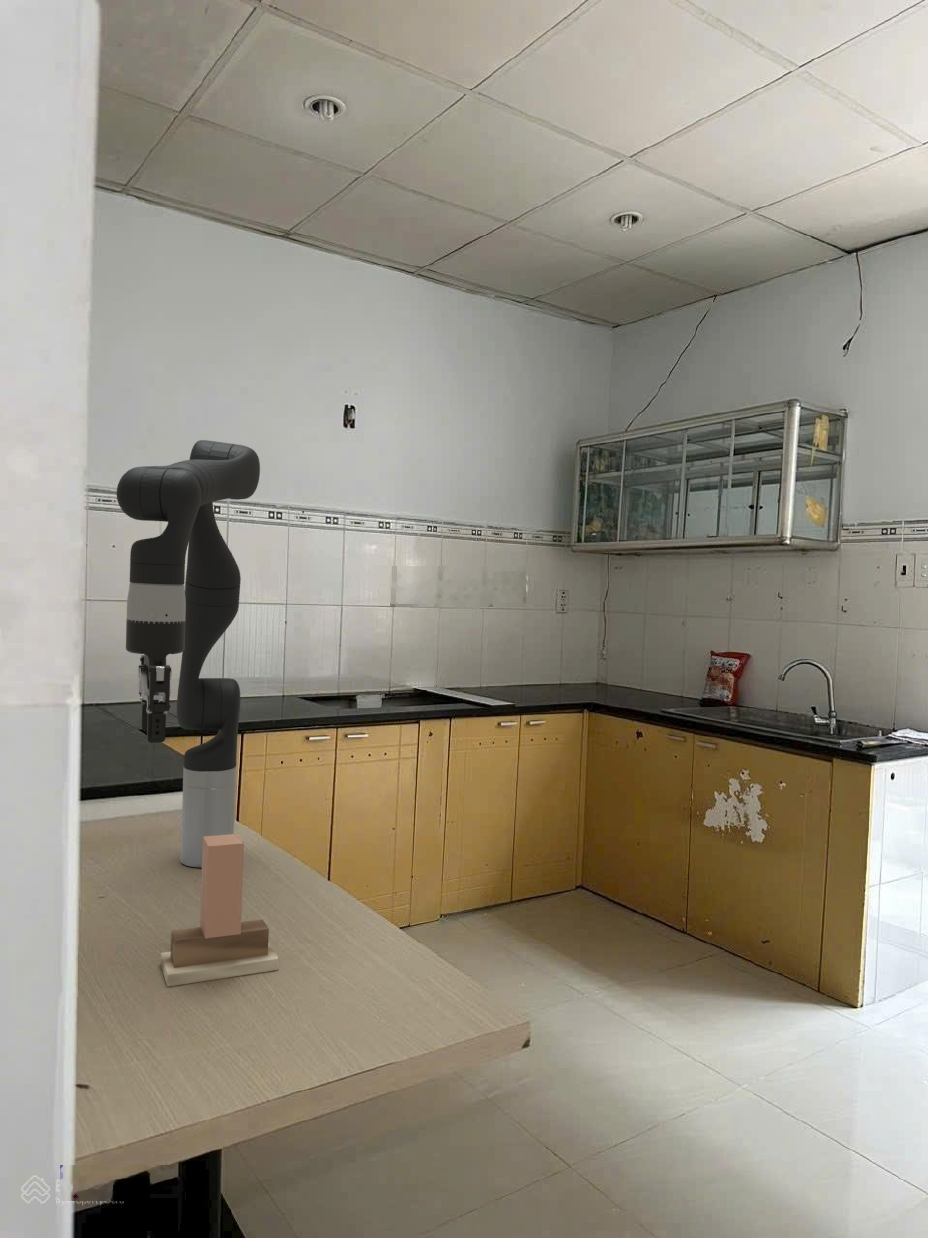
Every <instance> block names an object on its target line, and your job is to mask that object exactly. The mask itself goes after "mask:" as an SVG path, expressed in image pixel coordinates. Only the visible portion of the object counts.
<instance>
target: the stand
mask: <svg viewBox="0 0 928 1238" xmlns="http://www.w3.org/2000/svg"><path fill="white" fill-rule="evenodd" d="M269 934H270V928H269V926H268V925H267V924H266V922H265V921H264V919H263V918H262V919H253V920H246V921H241V934H237V935H229V936H221V937H213V938H205V937H204V934H203V932H202V929H201V927H200V926H198V927H197V926H196V927H190V928H183V929H175V930H171V931H170V951H164V952H160V967H161V971H162V973H163V977H164V979H165V983H166V987H175V986H179V985H180V986H181V985H188V984H193V983H194V984H195V983H200V982H201V983H202V982H207V981H212V980H213V981H214V980H221V979H226V978H232V977H239V976H241V977H242V976H247V975H253V974H260V973H265V972H273V971H278V970H279V962H280V961H279V957H278V955H277V954H276V951H274V949H273V947H272V945H271V944H270V942H269V936H270V935H269Z"/></svg>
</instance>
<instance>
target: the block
mask: <svg viewBox="0 0 928 1238" xmlns="http://www.w3.org/2000/svg"><path fill="white" fill-rule="evenodd" d="M244 848H245V843H244V841H243V840H242V839H241V837H240V836H239V834H238V833H234V834H230V835H217V836H204V837H203V849H202V867H201V882H200V883H201V884H200V885H201V887H200V909H199V910H200V914H199V915H200V917H199V927H201V929H202V932H203V934H204V937H205V938H213V937H221V936H229V935H237V934H241V922H242V907H243V878H244V877H243V876H244V875H243V874H244Z"/></svg>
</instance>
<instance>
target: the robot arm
mask: <svg viewBox="0 0 928 1238" xmlns="http://www.w3.org/2000/svg"><path fill="white" fill-rule="evenodd" d="M260 475H261V464H260V458H259V456H258V453H257V452H256V451H255V450H254V449H253V448H251V447H249V446H246V445H242V444H236V443H229V442H222V441H221V442H220V441H214V440H206V439H200V440H197V441H196V442H195V443H194V445H193V446H192V449H191V451H190V455H189V459H186V460H182V461H178V462H174V463H171V464H168V465H149V466H148V465H147V466H146V465H145V466H144V465H143V466H137V467H136V466H135V467H132V468H130V469H128V470H127V471H125V473H124V474H123V475H122V476H121V478H120V479H119V482H118V484H117V486H116V500H117V503H118V506H119V507H120V509H121V511H122V512H123V513H124V514H125V516H127V517H129V518H131V519H134V520H136V521H144V522H145V521H147V522H150V521H151V522H163V523H164V522H165V523H166V522H167V525H166V527H165V529H164V530H163V532H161V534H160V535H158V536H155V537H148V538H143V539H139V540H136V541H134V542H133V543H132V544H131V547H130V552H129V553H130V554H129V555H130V556H129V586H128V587H129V588H128V593H127V598H126V599H127V600H126V601H127V602H126V621H125V622H126V624H125V626H126V627H125V650H126V651H127V652H129V653H130V654H135V655H136V654H138V655H140V656H141V657H139V662H140V664H138V666H137V667H138V668H137V675H138V684H137V685H138V695H139V700H140V703H141V723H140V725H141V726H140V727H141V730H142V731H143V732H146V733H147V734H146V739H147V742H148V743H150V744H157V743H159V744H160V743H164V742H165V740H166V723H167V720H166V719H167V715H168V712H170V709H171V704H170V699H171V694H172V693H171V691H172V689H171V679H172V675H173V674H172V667H171V666H170V665H171V664H167V656H168V655H177V654H181V653H182V654H181V660H180V661H181V662H180V672H179V678H178V679H179V680H178V687H177V688H178V689H177V698H176V719H177V723H178V725H179V726H180V728H182V729H184V730H191V731H193V730H204V731H205V730H218V732H217V734H216V735H215V736H213V737H212V738H211V739H209V740H208V741H206V742H204V743H202V744H201V743H200V744H199V745H196V746H194V747H190V748H188V749H187V750H186V751H185V752H184V754H183V764H182V765H183V769H182V771H183V772H182V773H183V776H182V806H181V834H180V835H181V836H180V837H181V839H180V859H179V861H180V863H181V864H183V865H184V866H187V867H192V868H202V849H203V837H204V836H217V835H230V834H235V821H236V820H235V817H236V816H235V815H236V812H235V811H236V792H237V791H236V789H237V787H236V784H237V783H236V782H237V758H238V757H237V755H238V754H237V753H238V734H239V733H238V732H239V721H240V714H241V713H240V710H241V688H240V685H239V683H238V681H237V680H236V679H234V678H229V677H227V678H225V677H224V678H223V677H222V678H221V677H219V678H218V677H215V678H214V677H209V678H208V677H205V678H200V674H201V671H202V668H203V666H204V663H205V661H206V659H207V658H208V655H209V654H210V653H211V650H212V649H213V647H214V646H215V645H216V643H217V642H218V641H219V639H220V638H221V637H222V636H223V634H225V632H226V631H227V629H228V628H229V627H230V625H231V624H232V623H233V622H234V619H235V618H236V616H237V614H238V611H239V609H240V596H241V595H240V594H241V582H242V581H241V578H242V577H241V571H240V568H239V566H238V563H237V562H236V559H235V557H234V555H233V553H232V551H231V549H230V548H229V547H228V544H227V543H226V541H225V539H224V538H223V537H224V536H222V533H221V531H220V529H219V526H218V523H217V520H216V516H215V515H216V514H215V511H214V504H213V503H214V502H218V501H222V500H228V499H230V500H236V501H237V500H238V501H239V500H247V499H249V498H250V497H252V496H253V495H254V494H255V492H256V490H257V488H258V485H259V483H260V481H259V480H260ZM186 555H187V556H186ZM186 557H187V559H186ZM185 565H186V566H185ZM185 573H186V574H185Z"/></svg>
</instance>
